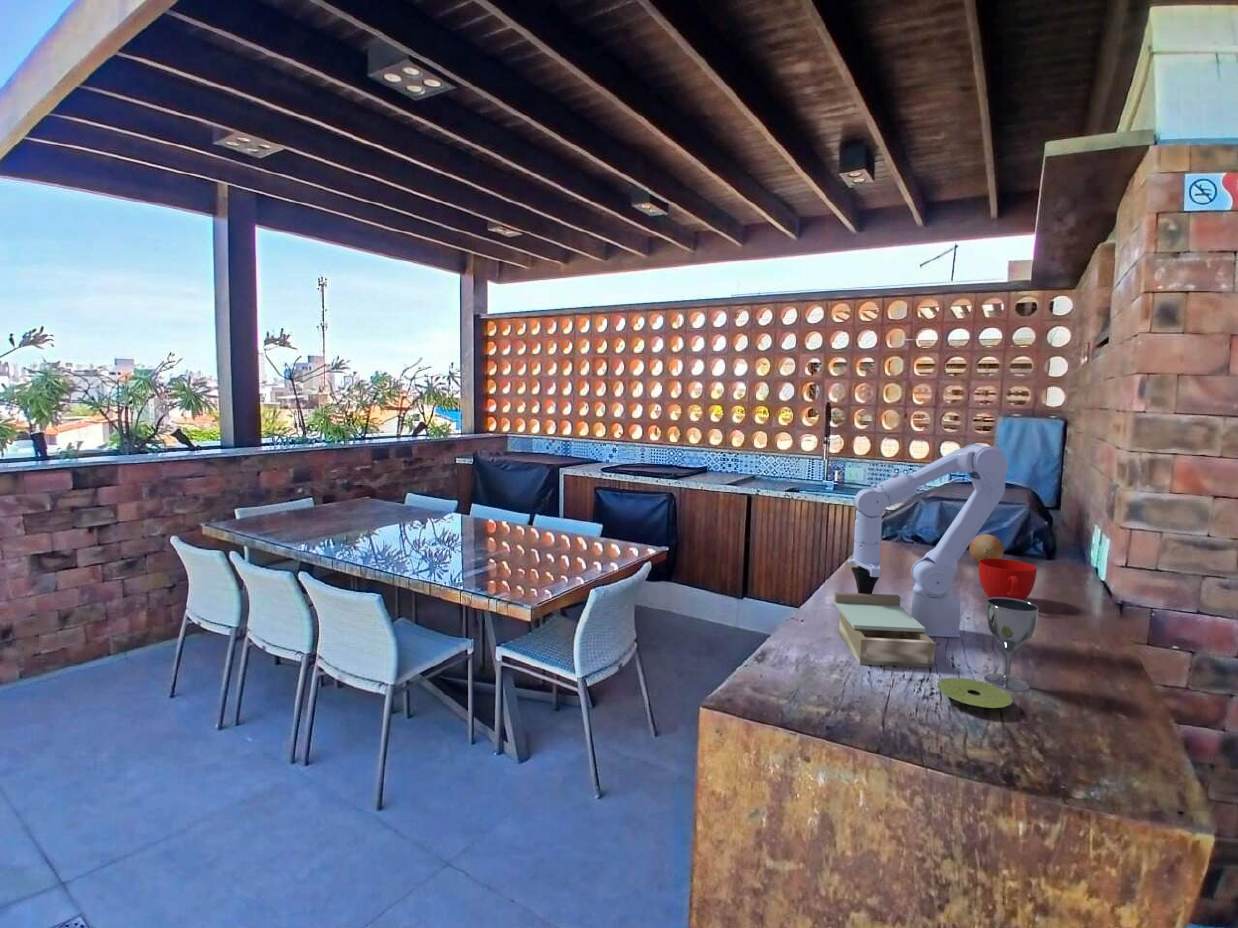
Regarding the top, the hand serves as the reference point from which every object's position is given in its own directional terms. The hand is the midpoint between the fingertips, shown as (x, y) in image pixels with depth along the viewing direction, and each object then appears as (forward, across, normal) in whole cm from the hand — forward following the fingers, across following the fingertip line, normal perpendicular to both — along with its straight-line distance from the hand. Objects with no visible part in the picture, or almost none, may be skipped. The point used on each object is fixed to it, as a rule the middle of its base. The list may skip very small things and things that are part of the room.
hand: (864, 599), depth 142 cm
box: (+6, +14, 0) cm, 16 cm away
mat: (+7, +36, +8) cm, 38 cm away
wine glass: (+7, +27, +18) cm, 33 cm away
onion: (+7, -66, +58) cm, 88 cm away
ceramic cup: (+7, -23, +43) cm, 49 cm away
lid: (+1, +9, 0) cm, 9 cm away
